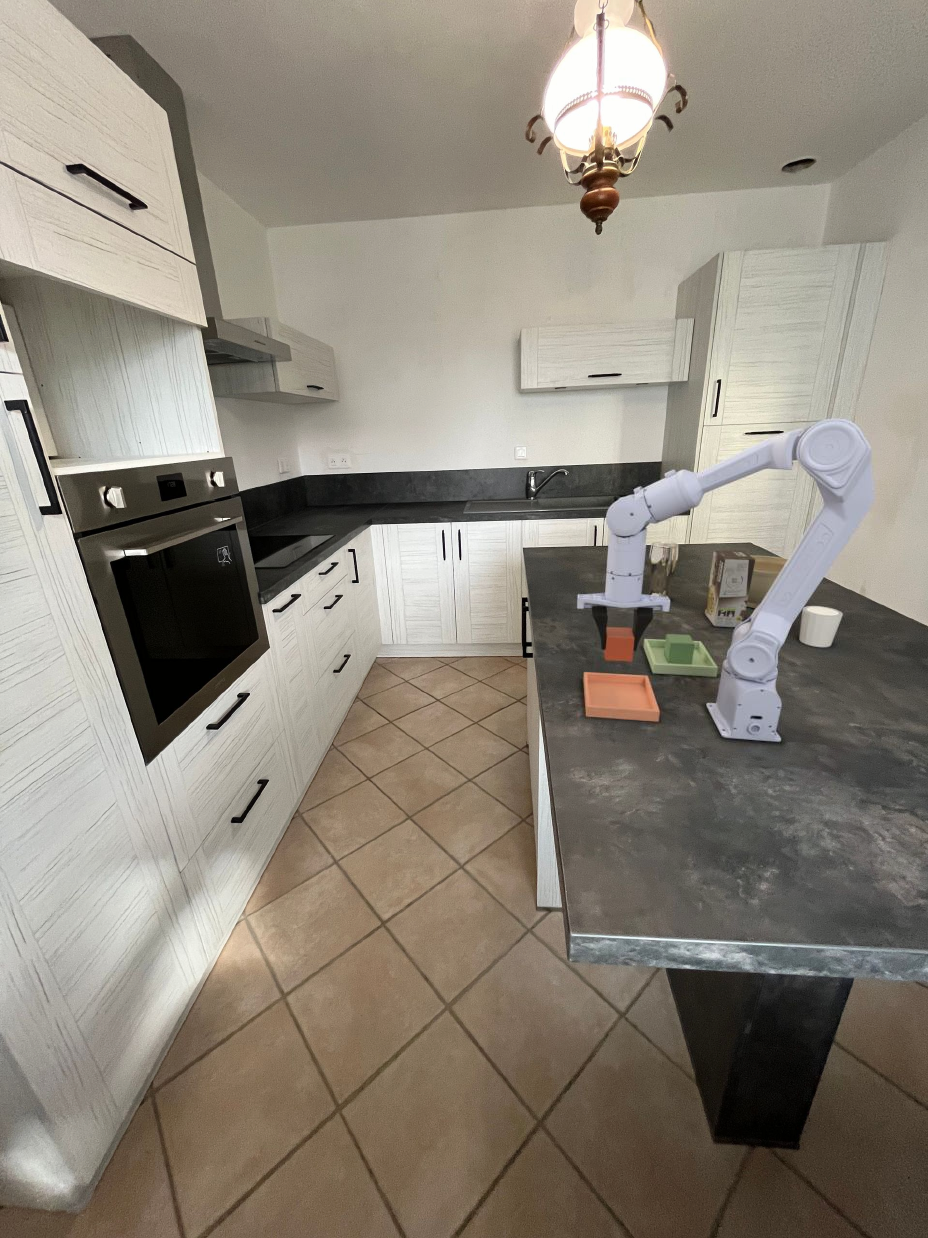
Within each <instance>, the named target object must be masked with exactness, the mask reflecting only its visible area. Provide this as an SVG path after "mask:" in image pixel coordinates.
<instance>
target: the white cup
mask: <svg viewBox="0 0 928 1238" xmlns="http://www.w3.org/2000/svg"><path fill="white" fill-rule="evenodd" d="M801 612H802V613H801V620H800V628H799V639H798V640H799V641H800V642H801V643H803V644H804V645H807V646H811V647H817V648H829V647H831V646H832V644H833V641H834V639H835V636H836V633H837V631H838V628H839V625H840V623H841V621H842V618H843V615H844V613H843V612H842V611H840V610H839V609H835V608H833V607H827V606H822V605H807V606H806V605H805V606H804V607H803V609H802V610H801Z"/></svg>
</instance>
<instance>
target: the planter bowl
mask: <svg viewBox="0 0 928 1238" xmlns="http://www.w3.org/2000/svg"><path fill="white" fill-rule="evenodd" d="M750 556H751V557H753V558H754V559H756V560H755V564H754V570H753V575H752V580H751V585H750V591H749V596H748V601H747V607H746V608H750V609H751V608H752V609H756V608H757V607H758V606H759V605H760V604H761V602H762V600H763V599H764V597H765V596H766V594H767V592H768V591H769V589H770V588H771V586H772V584H773V583H774V581H775V580H776V578H777V576H778V575H779V573H780V572H781V570H782V568H783V567H784V565H785V563H786V562H787V560H788V559H789V558H785V557H780V556H769V555H750Z"/></svg>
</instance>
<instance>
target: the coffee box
mask: <svg viewBox="0 0 928 1238" xmlns="http://www.w3.org/2000/svg"><path fill="white" fill-rule="evenodd" d="M751 556H752V555H750V554H748V553H747V552H745V551H743V550H735V549H733V550H732V549H731V550H713V555H712V561H711V567H710V568H711V569H710V574H709V583H708V590H707V596H706V603H705V609H704V615H705V616H706V617H707V618H708V620H709V621H710V622H711V624H712V625H713V626H714V627H722V628H723V627H724V628H725V627H726V628H736V627H737V626H738V625H739V624H740V623H742V622H744V621H745V617H746V611H747V608H748V607H747V601H748V596H749V591H750V585H751V580H752V575H753V570H754V564H755V560H756V559H754V558H753V557H751Z"/></svg>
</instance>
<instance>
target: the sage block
mask: <svg viewBox="0 0 928 1238" xmlns="http://www.w3.org/2000/svg"><path fill="white" fill-rule="evenodd" d="M664 640H665V648H664V655H665V657H666V660H667V662H668V663H676V664H692V660H693V653H694V646H695V643H694V642H693V641H694V640H693V638H692V637H691V635H690V634H678V633H677V634H676V633H666V634H665V639H664Z"/></svg>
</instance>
